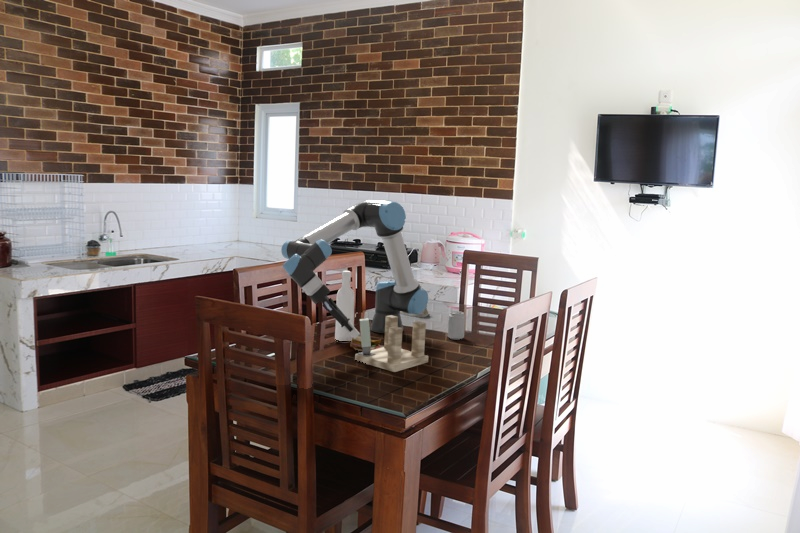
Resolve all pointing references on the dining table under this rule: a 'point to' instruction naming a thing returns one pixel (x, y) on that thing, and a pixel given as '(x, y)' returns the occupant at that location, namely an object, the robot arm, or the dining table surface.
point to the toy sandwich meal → (358, 346)
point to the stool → (397, 348)
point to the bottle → (345, 307)
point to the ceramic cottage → (422, 314)
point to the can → (456, 325)
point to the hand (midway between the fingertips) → (357, 336)
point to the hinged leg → (365, 335)
